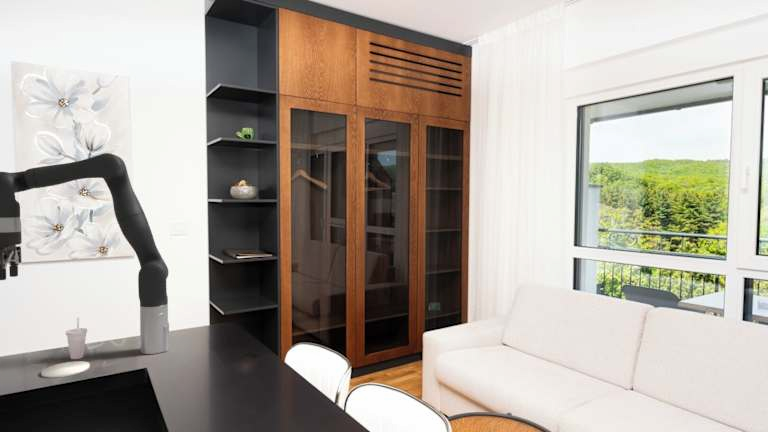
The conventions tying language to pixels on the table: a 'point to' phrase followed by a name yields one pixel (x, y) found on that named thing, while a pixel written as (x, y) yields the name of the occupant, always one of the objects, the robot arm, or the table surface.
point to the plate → (65, 369)
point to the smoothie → (76, 341)
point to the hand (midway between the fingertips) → (8, 278)
